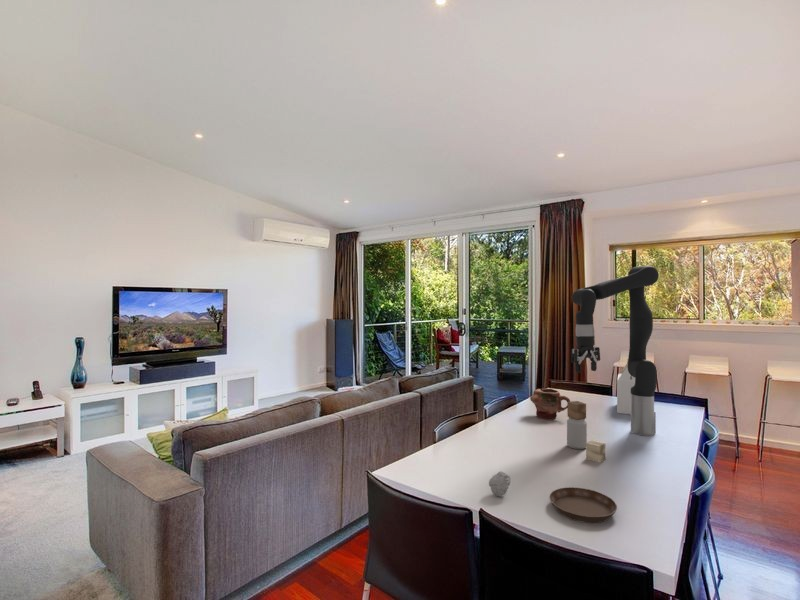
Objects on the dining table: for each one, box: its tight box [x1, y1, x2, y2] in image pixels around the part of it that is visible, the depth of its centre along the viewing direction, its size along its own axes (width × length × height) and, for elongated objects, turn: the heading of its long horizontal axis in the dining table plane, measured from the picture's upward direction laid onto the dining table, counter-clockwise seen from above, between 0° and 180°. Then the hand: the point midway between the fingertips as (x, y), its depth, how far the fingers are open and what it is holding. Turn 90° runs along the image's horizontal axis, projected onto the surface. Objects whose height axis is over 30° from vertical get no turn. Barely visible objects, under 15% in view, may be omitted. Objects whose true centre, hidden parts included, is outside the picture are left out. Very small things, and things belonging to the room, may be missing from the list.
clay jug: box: [529, 388, 571, 421], centre depth 216 cm, size 20×12×14 cm, turn 60°
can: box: [566, 417, 588, 450], centre depth 173 cm, size 8×8×12 cm
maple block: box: [585, 439, 607, 463], centre depth 160 cm, size 5×5×6 cm
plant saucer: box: [549, 486, 618, 524], centre depth 121 cm, size 18×18×3 cm
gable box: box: [616, 358, 635, 415], centre depth 231 cm, size 22×13×28 cm, turn 151°
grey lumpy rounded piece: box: [488, 470, 512, 497], centre depth 130 cm, size 6×7×7 cm
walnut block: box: [566, 400, 587, 420], centre depth 173 cm, size 5×5×6 cm
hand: (586, 371), depth 185 cm, fingers open, 8 cm apart
